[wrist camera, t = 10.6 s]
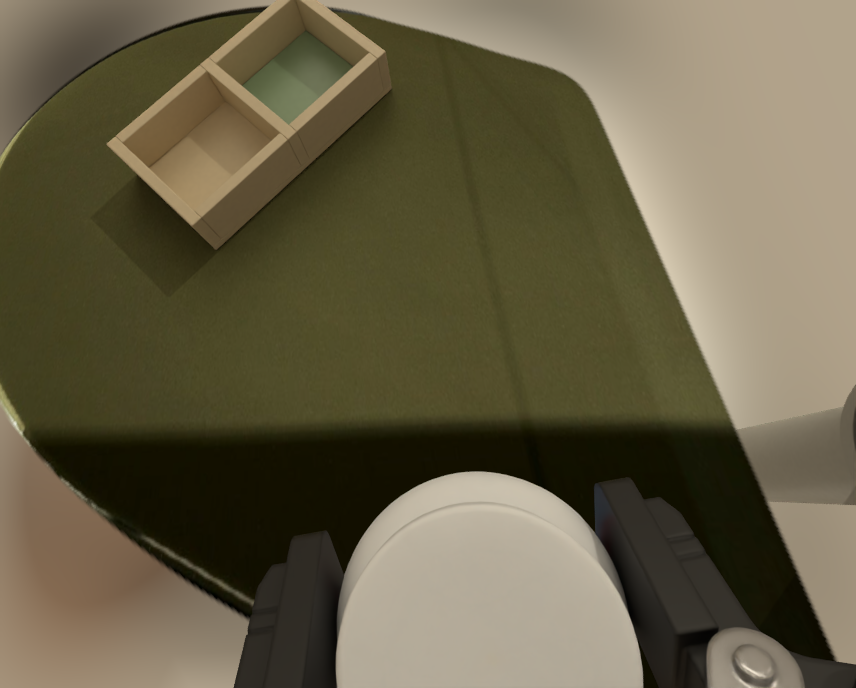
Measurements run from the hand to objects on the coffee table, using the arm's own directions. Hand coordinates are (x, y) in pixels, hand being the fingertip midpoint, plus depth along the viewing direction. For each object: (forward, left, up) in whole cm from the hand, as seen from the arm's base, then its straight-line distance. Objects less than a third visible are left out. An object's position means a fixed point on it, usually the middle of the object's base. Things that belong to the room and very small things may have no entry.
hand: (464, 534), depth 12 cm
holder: (+28, -10, -20) cm, 36 cm away
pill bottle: (-2, +1, -7) cm, 8 cm away
